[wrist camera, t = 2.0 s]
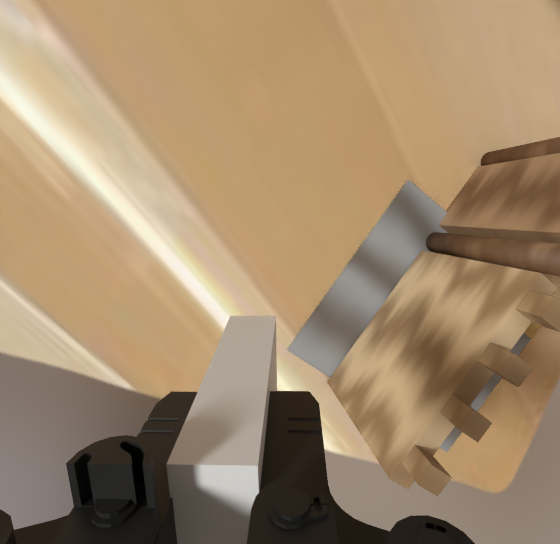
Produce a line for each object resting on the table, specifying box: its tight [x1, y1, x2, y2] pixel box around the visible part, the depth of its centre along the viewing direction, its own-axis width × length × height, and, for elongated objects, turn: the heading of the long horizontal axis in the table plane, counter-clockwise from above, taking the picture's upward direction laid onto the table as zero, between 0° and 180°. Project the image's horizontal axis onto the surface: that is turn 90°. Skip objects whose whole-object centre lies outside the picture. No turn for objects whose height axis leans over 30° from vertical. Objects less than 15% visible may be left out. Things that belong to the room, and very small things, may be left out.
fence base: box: [287, 137, 560, 452], centre depth 31 cm, size 28×22×16 cm
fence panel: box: [327, 250, 560, 496], centre depth 30 cm, size 16×2×16 cm, turn 144°
